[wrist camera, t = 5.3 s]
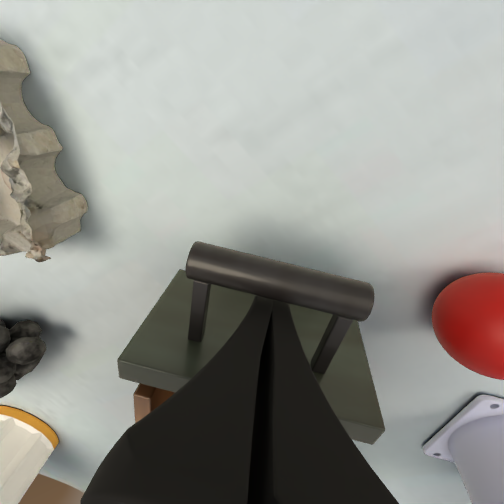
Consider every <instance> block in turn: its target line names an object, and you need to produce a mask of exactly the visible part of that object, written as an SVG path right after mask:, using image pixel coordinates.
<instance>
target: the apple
mask: <svg viewBox="0 0 504 504" xmlns="http://www.w3.org/2000/svg"><path fill="white" fill-rule="evenodd" d="M432 325H433V329H434V332H435V335H436V337H437V339H438V341H439V342H440V344H441V345H442V347H443V348H444V349H445V350H446V351H447V353H448V354H449V355H450V356H451V357H452V358H454V359H455V360H456V361H457V362H459V363H460V364H462V365H463V366H465V367H466V368H468V369H470V370H472V371H474V372H476V373H479V374H481V375H484V376H487V377H491V378H495V379H501V380H504V274H503V273H476V274H472V275H468V276H465V277H462V278H459V279H457V280H455V281H454V282H452V283H450V284H449V285H448V286H446V287H445V288H444V289H443V290H442V291H441V292H440V294H439V295H438V297H437V298H436V300H435V303H434V305H433V309H432Z"/></svg>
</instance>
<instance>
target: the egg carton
mask: <svg viewBox="0 0 504 504" xmlns="http://www.w3.org/2000/svg"><path fill="white" fill-rule="evenodd" d="M30 73H31V72H30V70H29V68H28V64H27V61H26V58H25V56H24V54H23V53H22V51H21V50H20V49H19V48H18V47H17V46H16V45H12V44H8V43H6V42H4V41H3V40H2V39H0V256H4V255H9V254H14V253H18V252H23V251H29V252H27V253H26V256H25V257H27V258H33V259H35V260H36V261H37V262H43V261H46V260H48V259H51V258H50V257H47V256H45V253H46V250H45V249H49V248H52V247H54V246H55V245H56V244H58V243H60V242H63V241H64V240H66V239H67V238H69V237H71V236H72V235H74V234H76V233H78V232H79V231H81V225H80V220H81V217H82V216H83V215H84V213H86V212H87V210H88V206H87V202H86V200H85V198H84V197H83V195H82V194H80V193H77V192H74V191H73V190H71V189H68V188H66V187H65V185H64V184H63V183H62V181H61V180H60V178H59V177H58V175H57V173H56V171H55V158H56V157H57V155H58V154H59V152H60V151H62V149H63V147H62V146H61V145H60V143H59V142H58V140H57V138H56V135H55V133H54V131H53V129H52V128H51V127H49V126H47V125H44V124H41V123H40V122H39V121H37V120H36V119H35V118H34V117H33V116H32V115H31V114H30V112H29V111H28V110H27V108H26V106H25V104H24V102H23V98H22V93H21V88H22V81H23V80H24V78H25V77H27V76H28V75H29V74H30Z"/></svg>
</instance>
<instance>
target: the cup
mask: <svg viewBox="0 0 504 504" xmlns="http://www.w3.org/2000/svg"><path fill="white" fill-rule="evenodd" d="M58 443H59V440H58V437H57V435H56V433H55V432H54V431H53V430H52V429H51V428H50V427H49V426H48V425H47V424H45V423H44V422H43V421H41V420H39V419H38V418H36V417H35V416H32V415H30V414H28V413H26V412H24V411H22V410H19V409H16V408H12V407H8V406H0V504H18V503H19V501H20V500H21V498H22V497H23V495H24V494H25V492H26V491H27V489H28V488H29V486H30V485H31V483H32V482H33V480H34V478H35V477H36V475H37V474H38V473H39V471H40V470H41V468H42V467H43V465H44V464H45V462H46V461H47V459H48V458H49V456H50V454H51V453H52V452H53V450H54V449H55V447H56V446H57V445H58Z"/></svg>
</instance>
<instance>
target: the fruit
mask: <svg viewBox="0 0 504 504" xmlns="http://www.w3.org/2000/svg"><path fill="white" fill-rule="evenodd" d="M5 325H6V324H5V323H4V322H3V321H2V320H1V319H0V398H2V397H4V396H6V395H7V394H9V393H10V392H11V391H13V389H14V387H15V386H16V384H17V383H16V380H19V379H20V378H21V377H23V376H24V375H26V374H27V373H29V372H32V370H33V369H34V368H35V367H36V366H37V365H38V363H39V362H40V359H41V358H42V356H43V355H44V353H45V351H46V346H45V343H44V342H43V341H42V340H41V339H40V338H39V337H40V334H41V331H42V330H41V328H40V327H39V325H38V324H37V323H35V322H32V321H30V320H25V321H20V322H18V323H17V324H16V325H14V326H13V327H12V328H11V329H10V330H9V329H7V328H5Z"/></svg>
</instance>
